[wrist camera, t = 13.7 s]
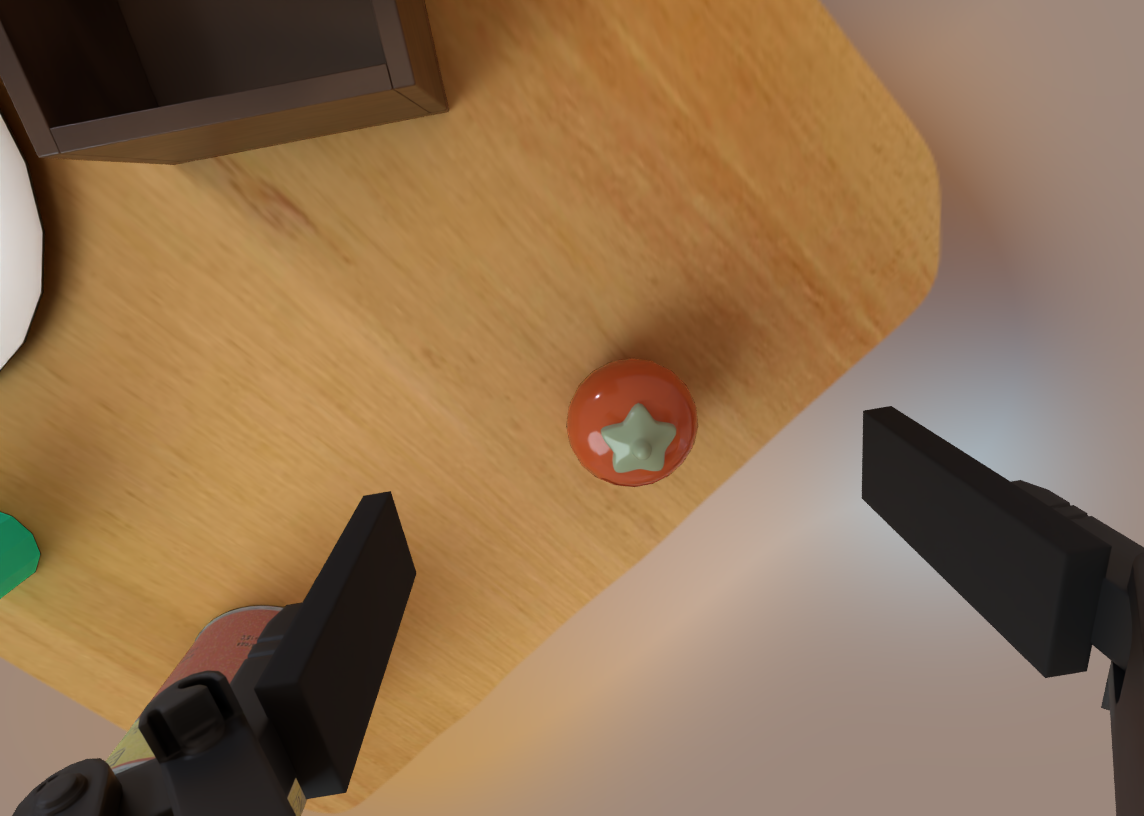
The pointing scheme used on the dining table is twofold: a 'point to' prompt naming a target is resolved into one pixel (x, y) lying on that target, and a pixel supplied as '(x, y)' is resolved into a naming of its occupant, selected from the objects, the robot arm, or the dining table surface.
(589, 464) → the tomato
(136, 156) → the dark wooden box
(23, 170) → the plate
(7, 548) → the candle
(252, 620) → the canned food
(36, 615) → the dining table surface
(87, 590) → the dining table surface
